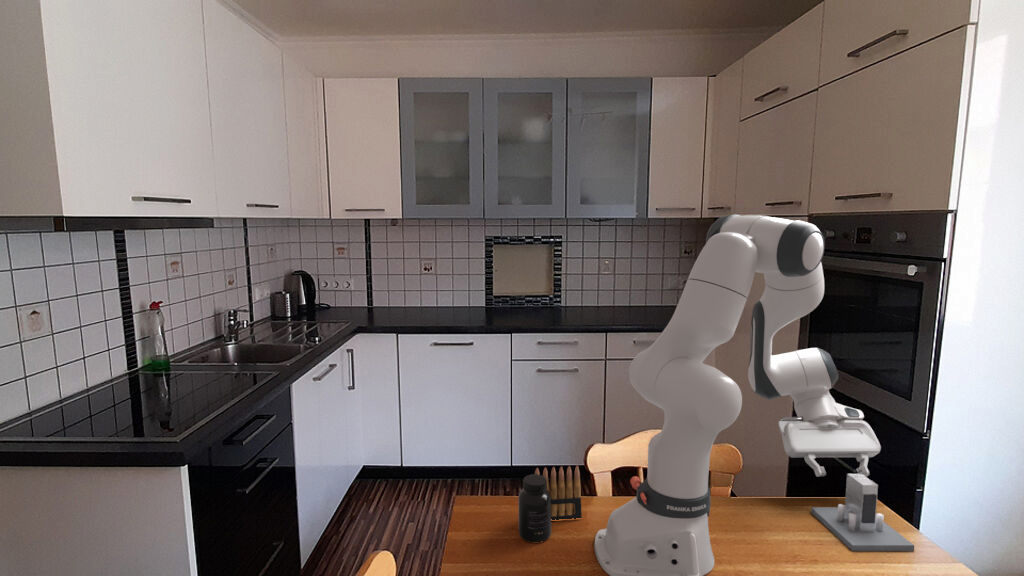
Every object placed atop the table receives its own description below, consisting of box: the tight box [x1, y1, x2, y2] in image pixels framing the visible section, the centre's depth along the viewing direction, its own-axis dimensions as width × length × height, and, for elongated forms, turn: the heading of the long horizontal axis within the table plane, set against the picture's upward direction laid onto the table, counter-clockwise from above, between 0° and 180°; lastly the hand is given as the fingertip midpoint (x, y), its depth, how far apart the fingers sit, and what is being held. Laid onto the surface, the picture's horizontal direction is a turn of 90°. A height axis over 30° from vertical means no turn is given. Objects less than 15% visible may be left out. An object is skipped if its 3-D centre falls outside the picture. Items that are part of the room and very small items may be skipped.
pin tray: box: [810, 503, 915, 552], centre depth 107 cm, size 12×14×4 cm
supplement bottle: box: [517, 473, 552, 543], centre depth 105 cm, size 7×7×12 cm
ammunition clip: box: [534, 465, 583, 520], centre depth 111 cm, size 11×2×12 cm, turn 98°
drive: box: [844, 473, 879, 532], centre depth 106 cm, size 3×5×10 cm, turn 0°
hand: (843, 475), depth 112 cm, fingers open, 8 cm apart
